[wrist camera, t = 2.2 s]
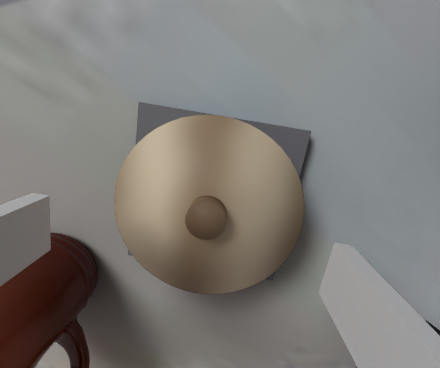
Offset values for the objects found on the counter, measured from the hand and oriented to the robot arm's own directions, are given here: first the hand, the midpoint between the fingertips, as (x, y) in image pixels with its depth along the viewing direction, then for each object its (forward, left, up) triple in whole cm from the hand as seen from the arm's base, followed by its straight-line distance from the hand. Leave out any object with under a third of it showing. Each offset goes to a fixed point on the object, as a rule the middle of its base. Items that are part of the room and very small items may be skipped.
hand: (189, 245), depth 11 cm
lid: (0, 0, -7) cm, 7 cm away
